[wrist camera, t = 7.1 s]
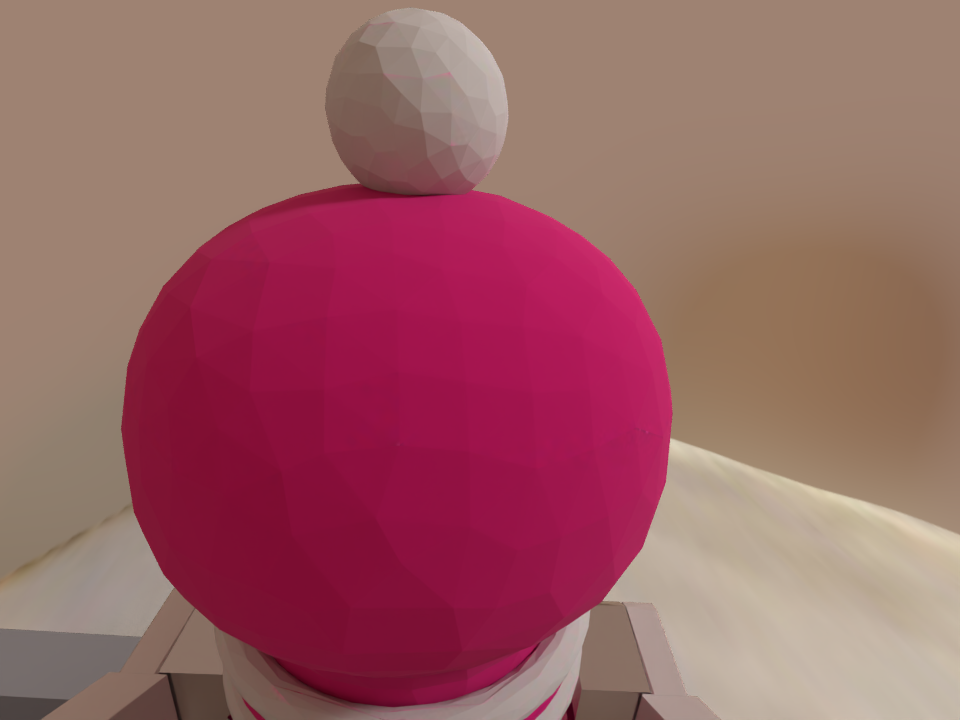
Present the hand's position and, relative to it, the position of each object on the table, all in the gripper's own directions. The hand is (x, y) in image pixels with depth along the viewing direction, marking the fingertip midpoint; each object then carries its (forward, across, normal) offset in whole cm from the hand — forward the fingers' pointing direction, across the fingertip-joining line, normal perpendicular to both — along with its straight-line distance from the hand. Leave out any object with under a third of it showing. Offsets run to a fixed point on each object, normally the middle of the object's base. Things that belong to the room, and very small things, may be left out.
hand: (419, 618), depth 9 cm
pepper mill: (-1, 0, +12) cm, 12 cm away
